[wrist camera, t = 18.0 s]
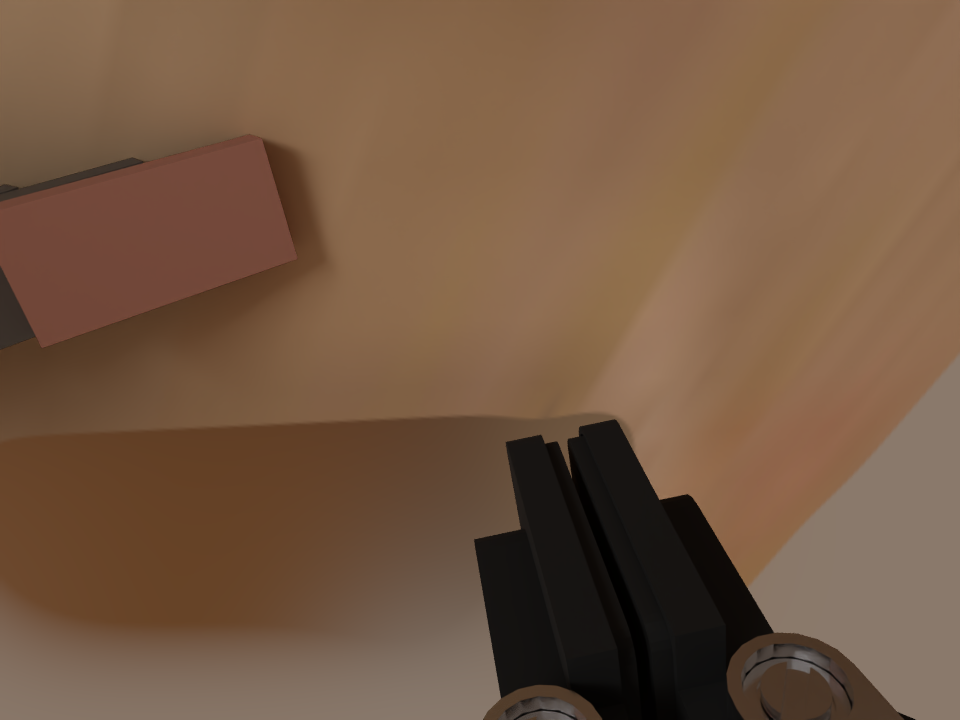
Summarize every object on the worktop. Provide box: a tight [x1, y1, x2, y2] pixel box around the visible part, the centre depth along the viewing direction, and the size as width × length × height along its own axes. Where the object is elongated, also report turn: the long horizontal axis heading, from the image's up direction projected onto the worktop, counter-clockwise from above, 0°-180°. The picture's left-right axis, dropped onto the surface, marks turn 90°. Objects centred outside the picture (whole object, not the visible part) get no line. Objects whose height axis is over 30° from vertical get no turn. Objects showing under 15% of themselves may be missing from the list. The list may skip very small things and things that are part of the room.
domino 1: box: [0, 158, 143, 349], centre depth 28 cm, size 2×5×10 cm
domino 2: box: [0, 135, 298, 348], centre depth 29 cm, size 2×5×10 cm
